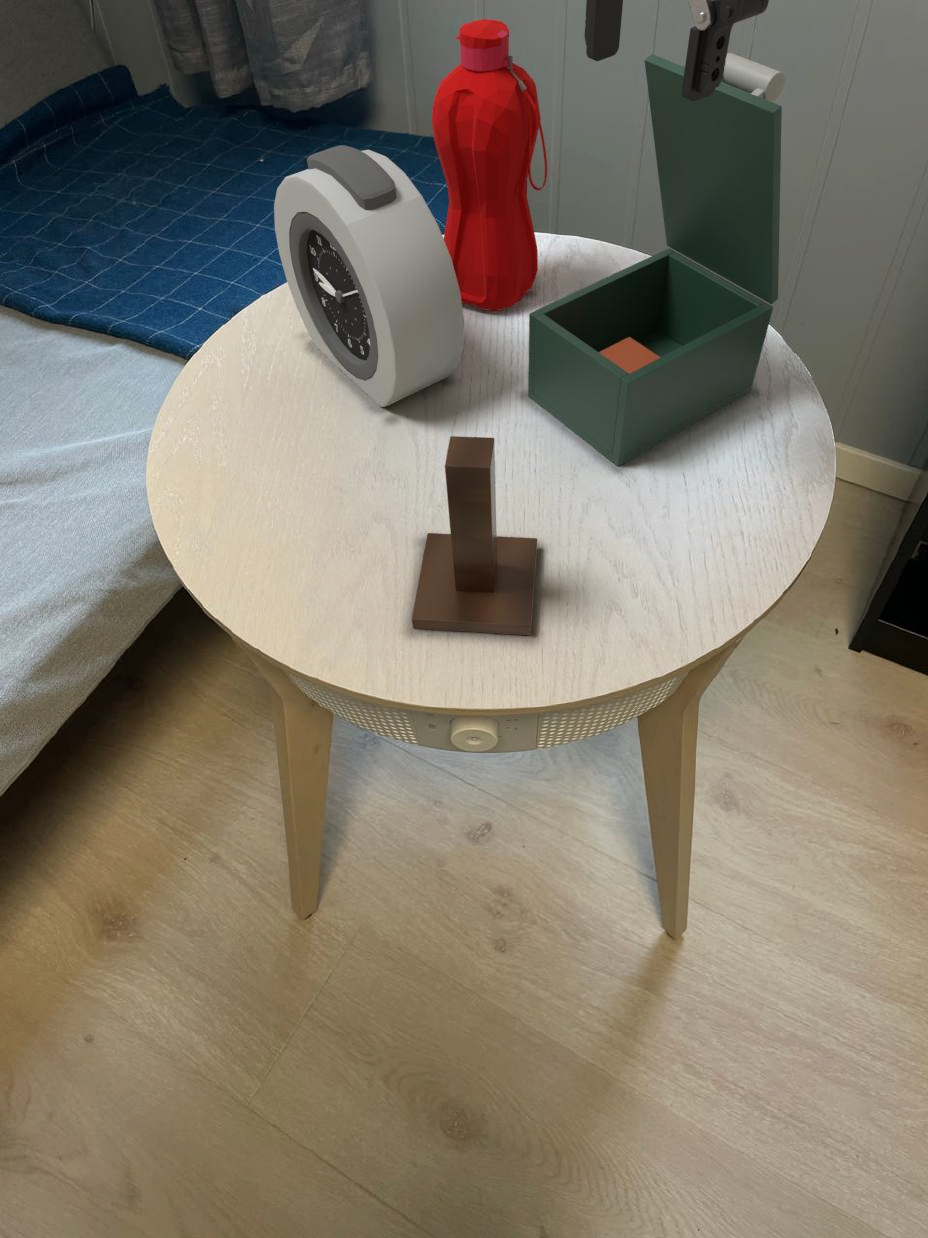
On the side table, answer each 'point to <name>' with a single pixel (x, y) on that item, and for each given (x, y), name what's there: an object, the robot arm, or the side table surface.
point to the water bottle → (488, 167)
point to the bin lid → (721, 169)
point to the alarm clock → (370, 272)
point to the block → (629, 355)
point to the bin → (663, 323)
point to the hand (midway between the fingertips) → (647, 75)
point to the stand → (475, 555)
